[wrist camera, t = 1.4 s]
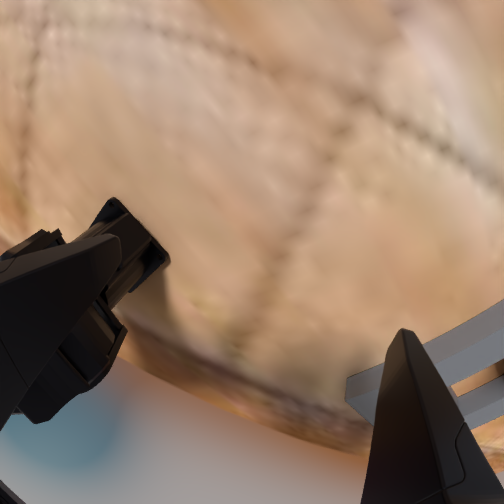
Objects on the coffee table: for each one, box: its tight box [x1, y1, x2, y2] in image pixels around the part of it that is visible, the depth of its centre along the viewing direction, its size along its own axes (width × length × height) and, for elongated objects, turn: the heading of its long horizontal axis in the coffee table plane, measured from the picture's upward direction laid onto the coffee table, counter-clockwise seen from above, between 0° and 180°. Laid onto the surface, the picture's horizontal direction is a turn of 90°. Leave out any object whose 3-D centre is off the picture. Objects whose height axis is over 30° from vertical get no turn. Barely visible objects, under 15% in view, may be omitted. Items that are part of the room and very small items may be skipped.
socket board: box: [345, 299, 504, 430], centre depth 22 cm, size 17×13×2 cm
